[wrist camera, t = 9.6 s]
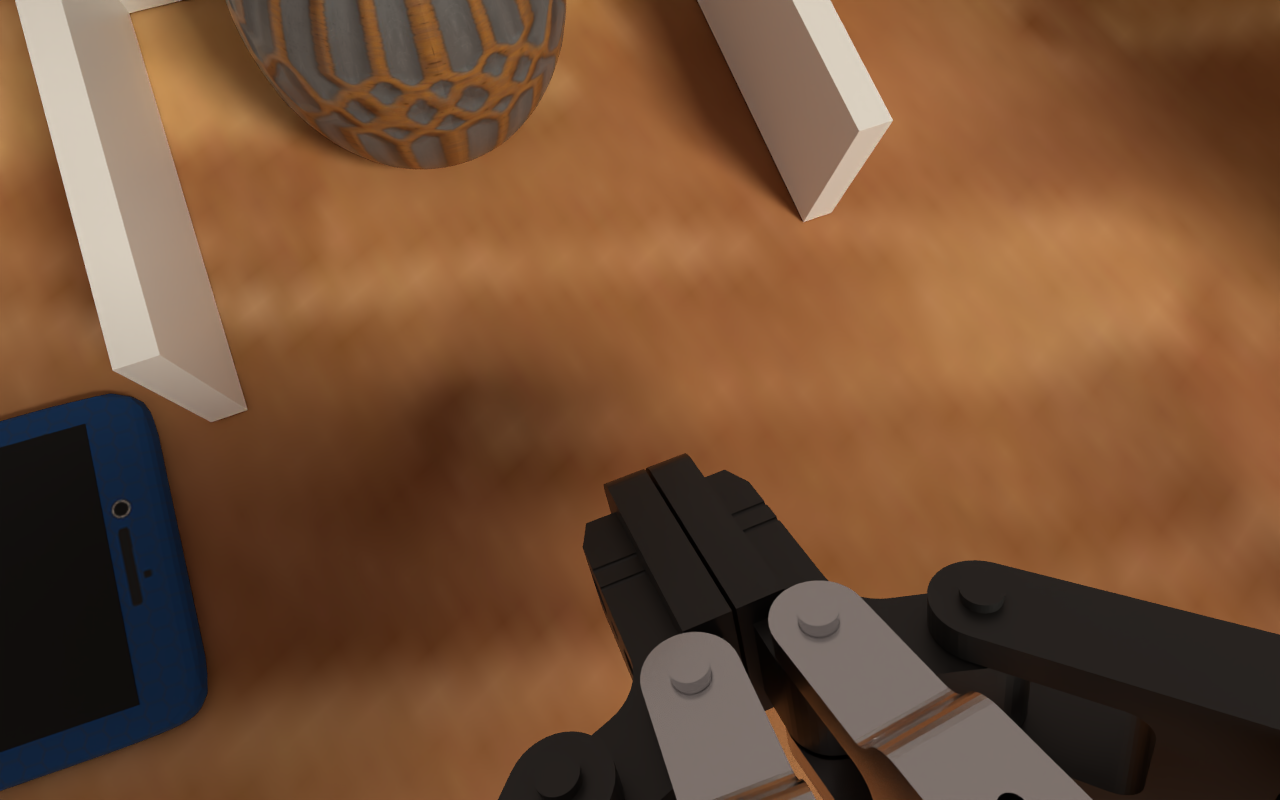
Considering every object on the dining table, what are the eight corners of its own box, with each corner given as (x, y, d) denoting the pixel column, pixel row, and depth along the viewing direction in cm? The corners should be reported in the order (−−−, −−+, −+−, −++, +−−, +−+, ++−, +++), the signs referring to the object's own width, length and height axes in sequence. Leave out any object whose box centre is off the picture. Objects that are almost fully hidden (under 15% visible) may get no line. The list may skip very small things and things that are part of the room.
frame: (658, -142, 23) (676, -294, 19) (831, 212, 20) (893, 120, 17) (89, -5, 20) (-25, -151, 16) (211, 422, 18) (112, 370, 14)
